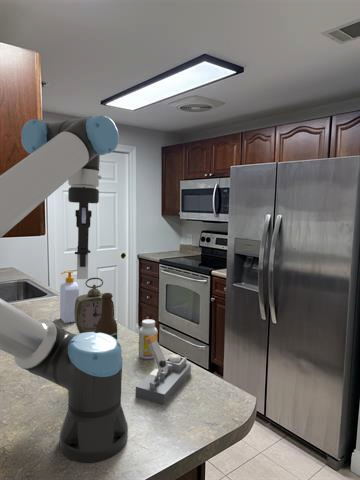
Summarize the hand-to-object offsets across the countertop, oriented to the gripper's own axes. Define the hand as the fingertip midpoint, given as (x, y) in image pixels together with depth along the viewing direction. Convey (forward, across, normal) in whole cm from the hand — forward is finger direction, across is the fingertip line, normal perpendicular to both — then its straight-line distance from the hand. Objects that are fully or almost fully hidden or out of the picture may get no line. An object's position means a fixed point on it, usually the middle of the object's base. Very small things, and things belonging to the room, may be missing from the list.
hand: (82, 278), depth 89 cm
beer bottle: (+34, +24, -9) cm, 43 cm away
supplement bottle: (+34, +26, -24) cm, 49 cm away
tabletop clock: (+34, +47, -5) cm, 59 cm away
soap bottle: (+34, +72, +5) cm, 80 cm away
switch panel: (+34, +5, -25) cm, 43 cm away
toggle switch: (+30, 0, -20) cm, 37 cm away
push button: (+30, +11, -29) cm, 43 cm away
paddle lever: (+30, +5, -25) cm, 40 cm away
